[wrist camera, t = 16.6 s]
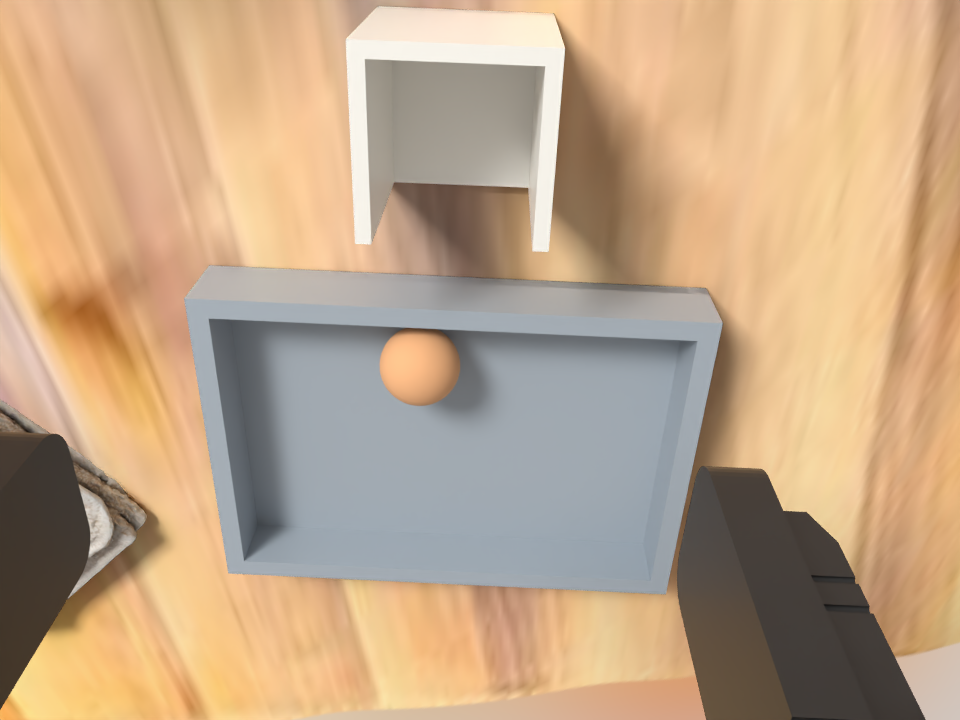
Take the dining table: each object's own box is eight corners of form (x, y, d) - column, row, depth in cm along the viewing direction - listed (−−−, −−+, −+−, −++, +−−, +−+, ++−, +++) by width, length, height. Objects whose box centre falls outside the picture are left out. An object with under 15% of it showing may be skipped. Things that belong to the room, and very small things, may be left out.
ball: (395, 301, 33) (453, 321, 31) (432, 343, 35) (487, 365, 33) (349, 365, 32) (405, 391, 30) (390, 404, 35) (444, 431, 33)
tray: (705, 288, 33) (722, 323, 31) (655, 548, 40) (665, 594, 38) (209, 265, 33) (184, 298, 31) (246, 528, 40) (228, 573, 38)
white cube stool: (553, 13, 28) (564, 48, 23) (541, 183, 31) (548, 251, 26) (378, 6, 28) (345, 39, 23) (382, 177, 31) (355, 243, 26)
